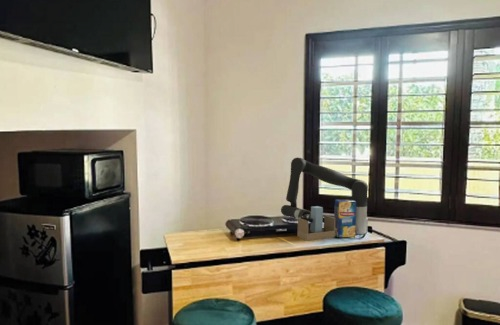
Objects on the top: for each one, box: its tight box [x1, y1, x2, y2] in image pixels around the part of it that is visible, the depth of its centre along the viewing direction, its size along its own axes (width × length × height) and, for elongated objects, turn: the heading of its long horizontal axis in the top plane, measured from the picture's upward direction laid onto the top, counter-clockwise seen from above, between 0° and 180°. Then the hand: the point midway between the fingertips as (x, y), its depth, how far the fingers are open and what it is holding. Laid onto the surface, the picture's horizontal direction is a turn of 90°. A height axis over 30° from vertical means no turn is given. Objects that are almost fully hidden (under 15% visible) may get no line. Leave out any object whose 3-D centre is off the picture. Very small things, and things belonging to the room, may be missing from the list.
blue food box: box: [333, 199, 356, 238], centre depth 229 cm, size 7×11×22 cm, turn 100°
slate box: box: [309, 205, 324, 233], centre depth 225 cm, size 5×5×18 cm
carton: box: [296, 214, 336, 242], centre depth 225 cm, size 20×10×12 cm, turn 116°
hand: (318, 220), depth 223 cm, fingers open, 8 cm apart
